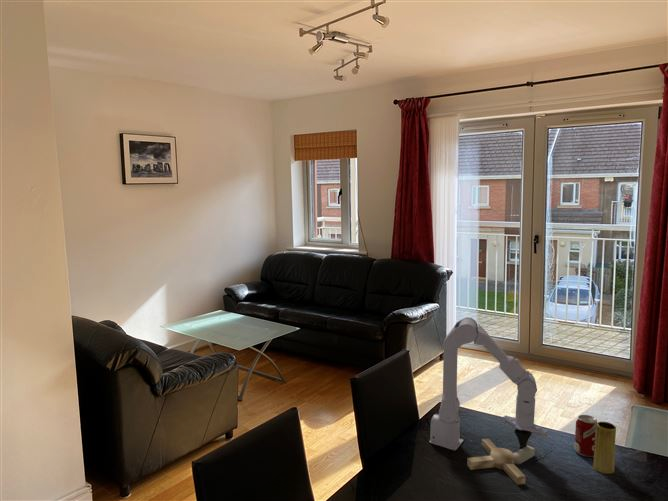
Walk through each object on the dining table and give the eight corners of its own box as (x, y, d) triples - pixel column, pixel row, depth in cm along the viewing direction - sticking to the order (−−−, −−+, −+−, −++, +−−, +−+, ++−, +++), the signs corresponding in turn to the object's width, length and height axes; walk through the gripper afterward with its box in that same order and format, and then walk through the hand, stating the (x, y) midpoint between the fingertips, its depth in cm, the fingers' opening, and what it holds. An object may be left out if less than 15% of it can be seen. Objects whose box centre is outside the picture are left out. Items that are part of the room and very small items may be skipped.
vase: (617, 475, 151) (620, 431, 149) (595, 473, 152) (598, 429, 150) (610, 464, 157) (613, 421, 155) (589, 462, 158) (592, 419, 156)
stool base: (486, 488, 145) (486, 477, 144) (454, 449, 166) (454, 439, 166) (532, 483, 147) (532, 472, 147) (494, 444, 169) (494, 435, 169)
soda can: (574, 456, 162) (577, 421, 160) (573, 446, 168) (575, 412, 167) (598, 460, 159) (600, 424, 158) (595, 450, 166) (598, 415, 164)
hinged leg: (518, 465, 157) (518, 457, 156) (511, 461, 159) (511, 454, 158) (534, 455, 162) (534, 448, 162) (527, 452, 164) (527, 444, 164)
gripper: (498, 407, 164) (496, 445, 166) (541, 422, 153) (538, 463, 155) (509, 401, 169) (507, 438, 171) (551, 415, 158) (549, 455, 160)
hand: (523, 450), depth 163 cm, fingers closed, pressing on hinged leg
